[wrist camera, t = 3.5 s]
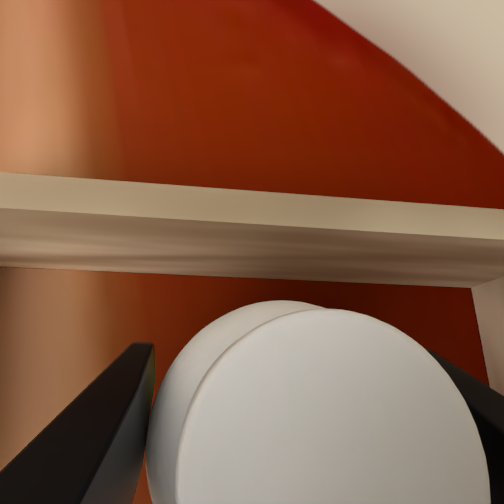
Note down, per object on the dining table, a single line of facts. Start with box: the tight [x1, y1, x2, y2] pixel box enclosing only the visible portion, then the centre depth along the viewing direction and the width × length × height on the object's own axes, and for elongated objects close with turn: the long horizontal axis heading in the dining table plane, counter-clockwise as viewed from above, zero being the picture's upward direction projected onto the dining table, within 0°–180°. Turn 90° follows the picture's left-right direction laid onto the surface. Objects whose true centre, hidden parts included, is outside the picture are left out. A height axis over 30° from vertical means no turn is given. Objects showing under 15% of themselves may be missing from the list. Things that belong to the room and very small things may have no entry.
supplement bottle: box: [146, 300, 491, 504], centre depth 9 cm, size 5×5×10 cm
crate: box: [0, 172, 504, 396], centre depth 11 cm, size 11×22×6 cm, turn 89°
